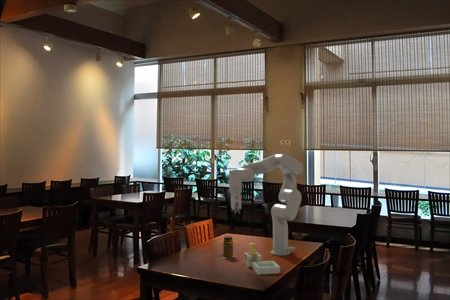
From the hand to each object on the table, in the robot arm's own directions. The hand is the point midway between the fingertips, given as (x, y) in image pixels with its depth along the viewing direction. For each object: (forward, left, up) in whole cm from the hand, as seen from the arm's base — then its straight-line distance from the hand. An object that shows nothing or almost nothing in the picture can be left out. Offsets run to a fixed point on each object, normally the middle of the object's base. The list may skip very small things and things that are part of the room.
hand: (235, 218), depth 235 cm
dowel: (-8, +8, -25) cm, 28 cm away
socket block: (-8, +8, -25) cm, 28 cm away
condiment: (+3, -14, -26) cm, 29 cm away
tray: (-12, +21, -25) cm, 35 cm away
